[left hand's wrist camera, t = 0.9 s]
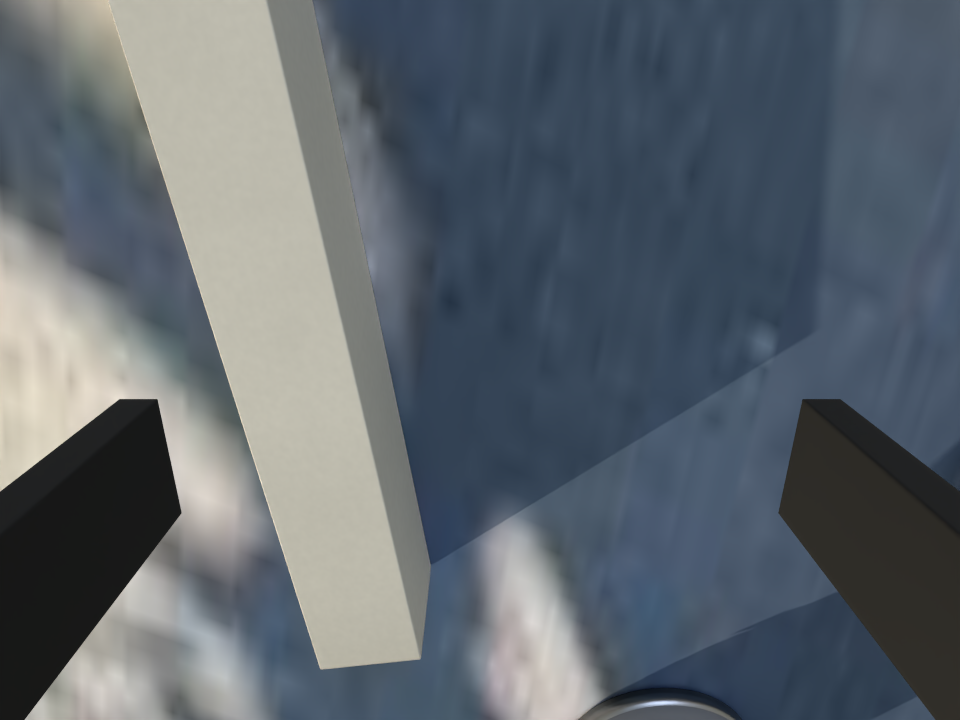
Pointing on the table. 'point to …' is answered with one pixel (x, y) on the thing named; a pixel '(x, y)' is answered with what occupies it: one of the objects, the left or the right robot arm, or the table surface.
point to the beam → (289, 303)
